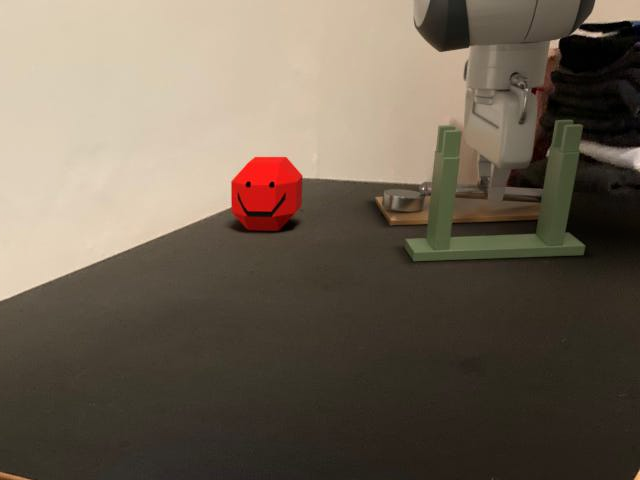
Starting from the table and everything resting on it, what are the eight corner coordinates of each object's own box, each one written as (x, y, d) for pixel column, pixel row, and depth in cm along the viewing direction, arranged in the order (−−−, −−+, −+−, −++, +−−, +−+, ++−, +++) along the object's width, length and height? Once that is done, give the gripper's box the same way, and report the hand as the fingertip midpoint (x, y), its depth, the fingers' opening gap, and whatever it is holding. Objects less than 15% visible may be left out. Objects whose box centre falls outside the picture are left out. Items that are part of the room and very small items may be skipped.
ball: (227, 233, 120) (226, 165, 116) (242, 218, 126) (242, 153, 122) (291, 235, 118) (293, 165, 114) (304, 220, 124) (306, 153, 120)
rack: (567, 241, 110) (590, 117, 102) (583, 255, 105) (608, 125, 98) (404, 247, 111) (415, 125, 104) (413, 261, 106) (425, 134, 99)
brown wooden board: (527, 195, 130) (527, 190, 130) (557, 219, 118) (558, 213, 118) (374, 201, 131) (375, 196, 131) (390, 225, 120) (390, 220, 119)
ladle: (548, 212, 126) (555, 186, 124) (560, 221, 122) (567, 194, 120) (378, 201, 126) (383, 175, 124) (384, 210, 122) (389, 183, 120)
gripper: (559, 77, 106) (537, 213, 114) (512, 60, 123) (495, 180, 131) (500, 80, 107) (482, 215, 115) (461, 62, 123) (447, 182, 131)
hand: (489, 196), depth 123 cm, fingers open, 4 cm apart
